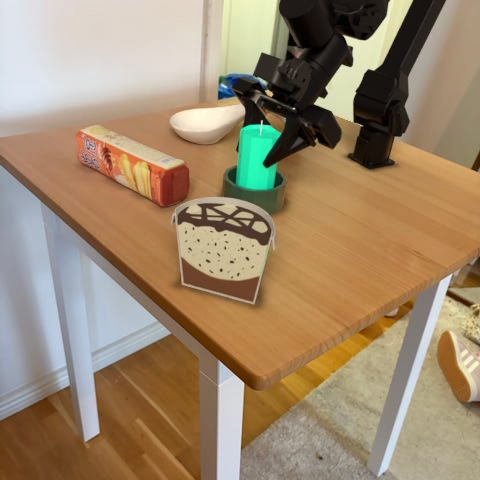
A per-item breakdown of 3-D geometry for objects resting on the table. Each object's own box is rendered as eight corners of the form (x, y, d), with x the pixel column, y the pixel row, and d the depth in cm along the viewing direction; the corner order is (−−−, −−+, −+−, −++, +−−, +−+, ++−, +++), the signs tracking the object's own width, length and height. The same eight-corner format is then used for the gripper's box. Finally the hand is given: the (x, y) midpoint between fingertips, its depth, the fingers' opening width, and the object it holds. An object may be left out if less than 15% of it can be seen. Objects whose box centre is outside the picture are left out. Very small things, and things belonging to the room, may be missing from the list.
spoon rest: (169, 149, 96) (169, 109, 92) (169, 126, 105) (169, 88, 101) (296, 155, 99) (302, 116, 95) (286, 132, 108) (291, 95, 104)
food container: (280, 280, 67) (291, 209, 61) (266, 308, 62) (277, 233, 56) (190, 257, 69) (192, 186, 63) (170, 281, 65) (170, 207, 58)
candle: (248, 209, 80) (256, 130, 72) (227, 192, 84) (233, 115, 76) (280, 202, 83) (291, 125, 75) (258, 186, 86) (267, 111, 79)
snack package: (74, 165, 88) (69, 124, 83) (106, 156, 92) (103, 116, 88) (160, 213, 78) (159, 169, 73) (192, 200, 82) (194, 158, 77)
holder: (261, 183, 88) (263, 160, 86) (295, 208, 82) (299, 184, 80) (211, 193, 84) (212, 169, 82) (243, 220, 78) (245, 195, 76)
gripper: (245, 15, 75) (182, 106, 76) (345, 46, 65) (271, 151, 66) (277, 68, 85) (220, 149, 86) (369, 102, 75) (304, 193, 76)
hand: (251, 159), depth 78 cm, fingers open, 5 cm apart
